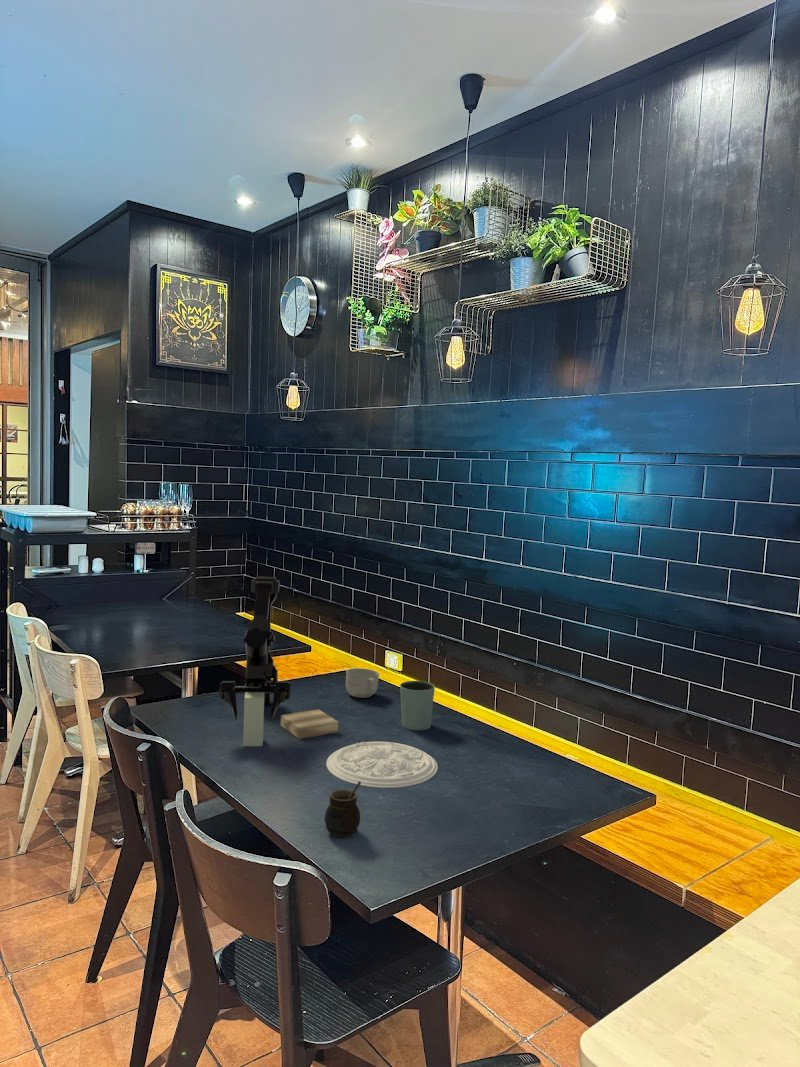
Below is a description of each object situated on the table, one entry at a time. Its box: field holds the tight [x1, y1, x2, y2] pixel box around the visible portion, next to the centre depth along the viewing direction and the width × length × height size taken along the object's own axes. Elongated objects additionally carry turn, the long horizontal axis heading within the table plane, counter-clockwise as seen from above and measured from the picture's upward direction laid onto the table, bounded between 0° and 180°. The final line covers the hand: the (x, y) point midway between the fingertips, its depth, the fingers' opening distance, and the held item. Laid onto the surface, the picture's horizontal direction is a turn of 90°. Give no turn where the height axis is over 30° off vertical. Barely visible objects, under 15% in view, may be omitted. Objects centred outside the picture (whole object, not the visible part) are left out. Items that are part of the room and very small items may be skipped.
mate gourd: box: [324, 781, 361, 838], centre depth 155 cm, size 7×8×10 cm
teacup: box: [345, 667, 380, 699], centre depth 246 cm, size 14×11×8 cm
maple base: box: [280, 708, 339, 740], centre depth 214 cm, size 12×12×3 cm
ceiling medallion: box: [326, 741, 439, 789], centre depth 191 cm, size 28×28×3 cm
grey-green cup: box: [399, 680, 436, 732], centre depth 221 cm, size 10×10×12 cm
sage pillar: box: [242, 692, 265, 747], centre depth 201 cm, size 5×5×13 cm
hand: (253, 719), depth 200 cm, fingers open, 9 cm apart
